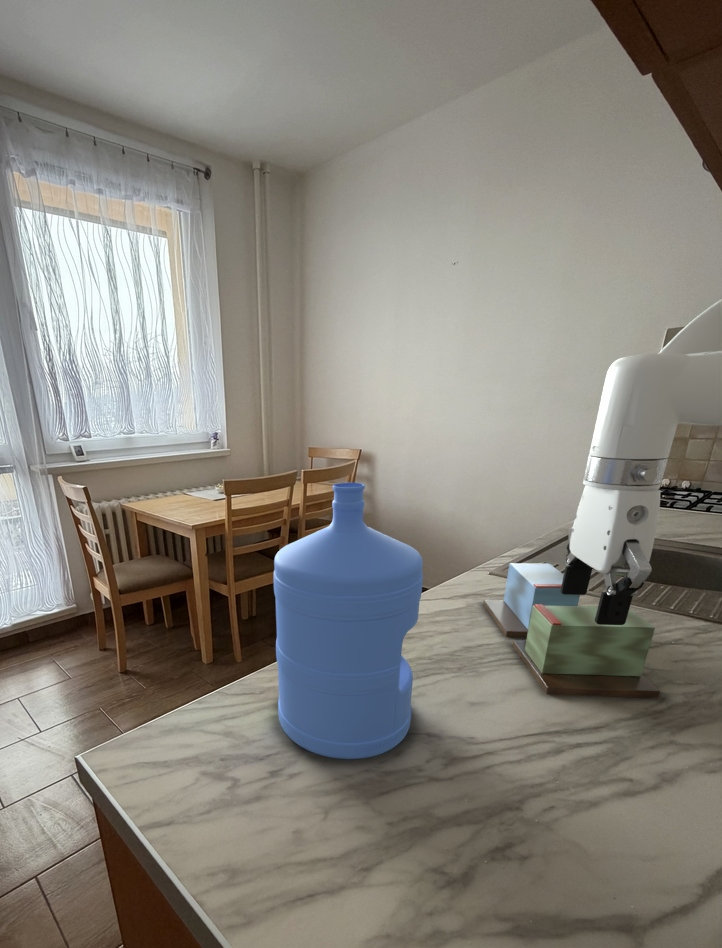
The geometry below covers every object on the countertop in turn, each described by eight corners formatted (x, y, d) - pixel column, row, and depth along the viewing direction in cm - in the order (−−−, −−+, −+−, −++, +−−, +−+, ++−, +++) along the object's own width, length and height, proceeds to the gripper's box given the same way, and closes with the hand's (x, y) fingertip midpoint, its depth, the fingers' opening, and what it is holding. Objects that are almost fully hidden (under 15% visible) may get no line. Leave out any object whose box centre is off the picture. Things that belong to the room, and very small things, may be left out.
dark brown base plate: (558, 608, 86) (560, 600, 85) (594, 641, 74) (596, 632, 74) (482, 607, 88) (483, 599, 87) (505, 639, 76) (506, 631, 75)
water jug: (313, 781, 49) (312, 507, 38) (260, 700, 63) (248, 481, 52) (438, 740, 54) (468, 488, 44) (364, 674, 68) (373, 470, 57)
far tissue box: (503, 600, 86) (509, 561, 83) (542, 601, 85) (549, 562, 83) (527, 629, 75) (535, 586, 72) (572, 630, 74) (581, 586, 72)
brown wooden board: (604, 651, 71) (606, 642, 71) (657, 701, 59) (660, 691, 59) (511, 648, 73) (513, 639, 72) (545, 697, 61) (547, 687, 61)
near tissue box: (614, 652, 68) (626, 604, 65) (641, 676, 62) (656, 625, 59) (524, 650, 69) (532, 603, 67) (541, 673, 63) (552, 623, 61)
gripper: (711, 484, 48) (662, 639, 54) (618, 463, 64) (588, 585, 70) (629, 484, 49) (590, 636, 55) (557, 464, 64) (534, 584, 71)
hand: (589, 607), depth 63 cm, fingers open, 9 cm apart
